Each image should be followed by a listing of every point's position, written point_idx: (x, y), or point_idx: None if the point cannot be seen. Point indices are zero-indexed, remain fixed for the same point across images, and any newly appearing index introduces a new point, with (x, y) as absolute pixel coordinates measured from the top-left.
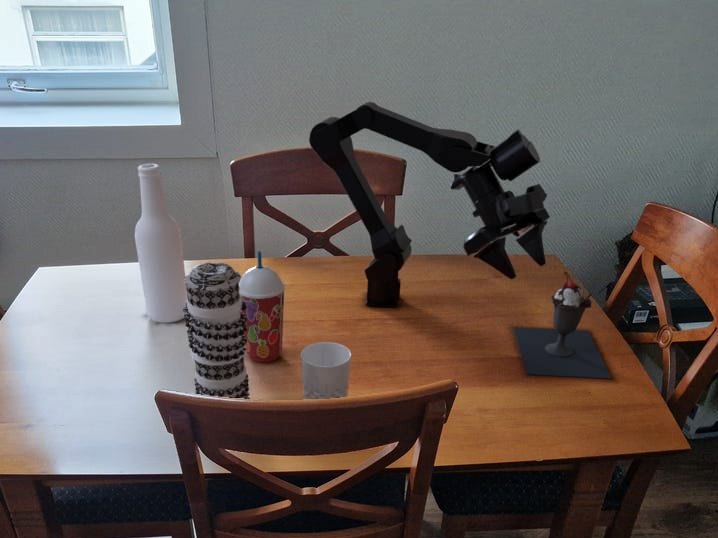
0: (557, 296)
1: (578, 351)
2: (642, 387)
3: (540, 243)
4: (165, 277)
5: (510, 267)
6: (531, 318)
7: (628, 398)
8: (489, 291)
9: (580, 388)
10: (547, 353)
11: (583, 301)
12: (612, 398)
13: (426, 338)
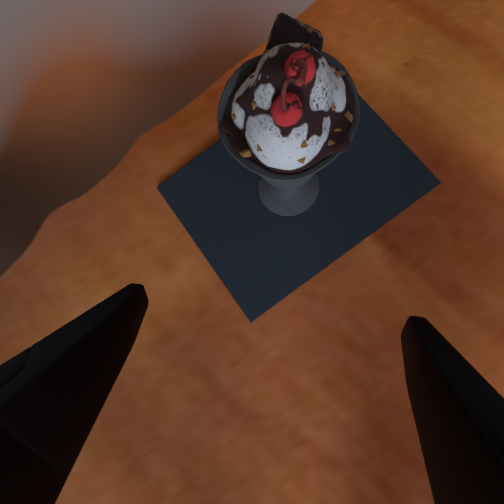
0: (322, 140)
1: None
2: (311, 13)
3: (31, 364)
4: None
5: (468, 366)
6: (175, 312)
7: (370, 9)
8: (95, 480)
9: (404, 82)
10: (319, 197)
11: (317, 38)
12: (393, 27)
13: None
